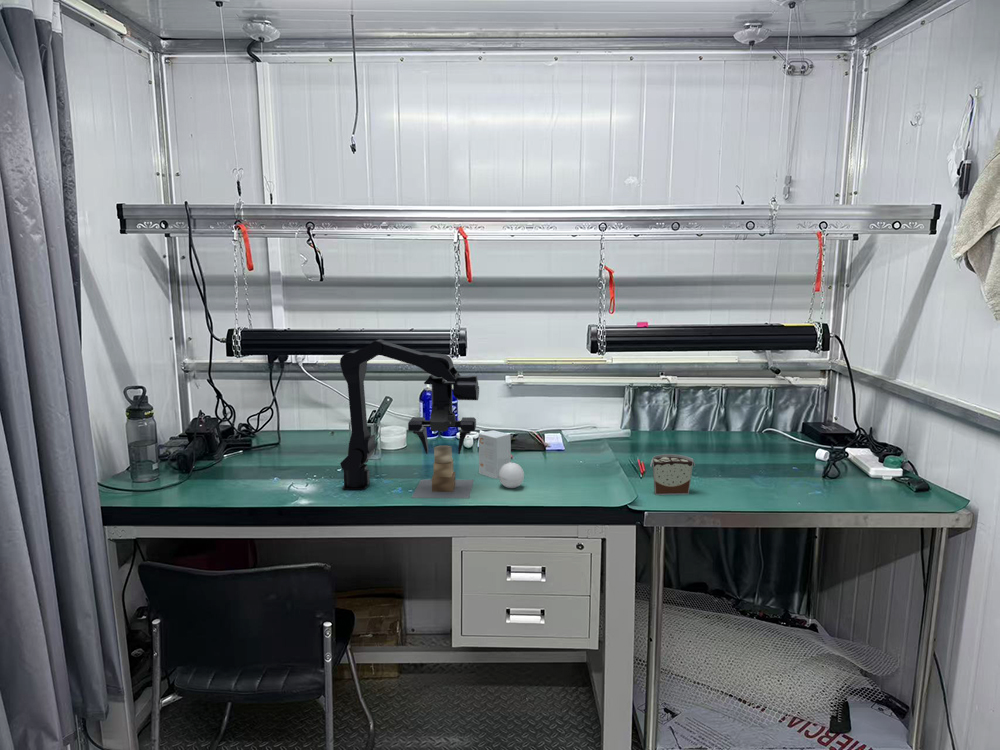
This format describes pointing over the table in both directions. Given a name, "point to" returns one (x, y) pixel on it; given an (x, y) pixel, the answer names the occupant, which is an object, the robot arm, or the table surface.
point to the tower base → (443, 484)
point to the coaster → (460, 491)
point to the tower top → (443, 470)
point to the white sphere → (511, 475)
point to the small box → (493, 452)
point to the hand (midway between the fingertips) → (443, 453)
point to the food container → (672, 474)
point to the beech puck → (443, 454)
